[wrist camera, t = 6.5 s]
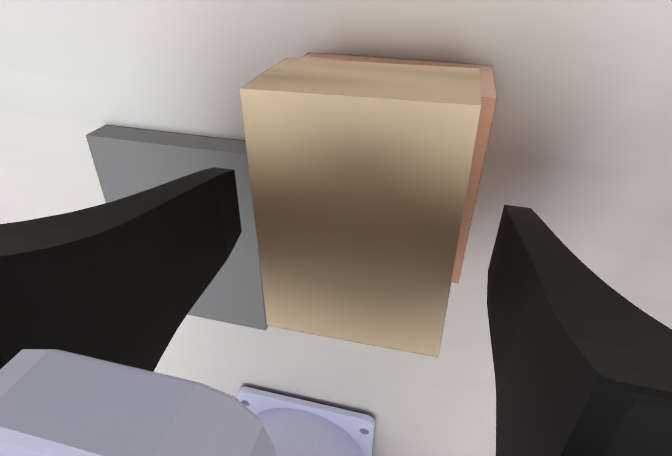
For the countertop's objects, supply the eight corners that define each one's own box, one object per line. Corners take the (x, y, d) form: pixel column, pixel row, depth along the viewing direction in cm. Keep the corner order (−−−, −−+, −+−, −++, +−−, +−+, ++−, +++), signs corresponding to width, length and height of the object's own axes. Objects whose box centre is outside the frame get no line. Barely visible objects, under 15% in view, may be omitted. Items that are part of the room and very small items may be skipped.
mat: (274, 313, 23) (265, 330, 22) (149, 288, 24) (136, 304, 23) (261, 142, 18) (249, 155, 17) (105, 124, 19) (85, 135, 18)
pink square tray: (460, 226, 18) (458, 282, 15) (311, 205, 19) (282, 253, 16) (491, 65, 14) (496, 98, 11) (308, 52, 15) (271, 78, 13)
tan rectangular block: (443, 288, 15) (438, 357, 12) (298, 265, 16) (267, 325, 14) (479, 68, 11) (481, 105, 9) (286, 57, 12) (239, 88, 10)
